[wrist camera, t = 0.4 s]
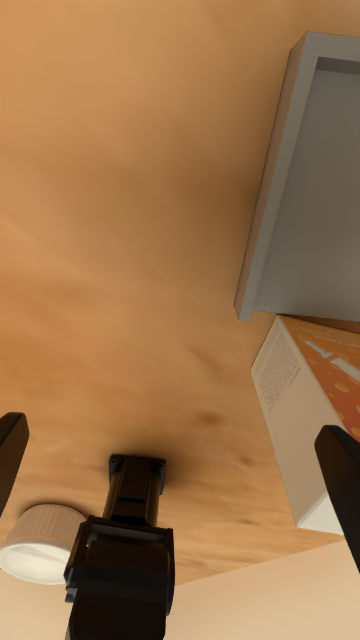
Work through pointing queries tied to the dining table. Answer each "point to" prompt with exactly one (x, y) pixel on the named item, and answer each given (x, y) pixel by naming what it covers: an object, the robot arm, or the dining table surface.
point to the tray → (309, 190)
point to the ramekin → (41, 544)
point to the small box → (307, 407)
